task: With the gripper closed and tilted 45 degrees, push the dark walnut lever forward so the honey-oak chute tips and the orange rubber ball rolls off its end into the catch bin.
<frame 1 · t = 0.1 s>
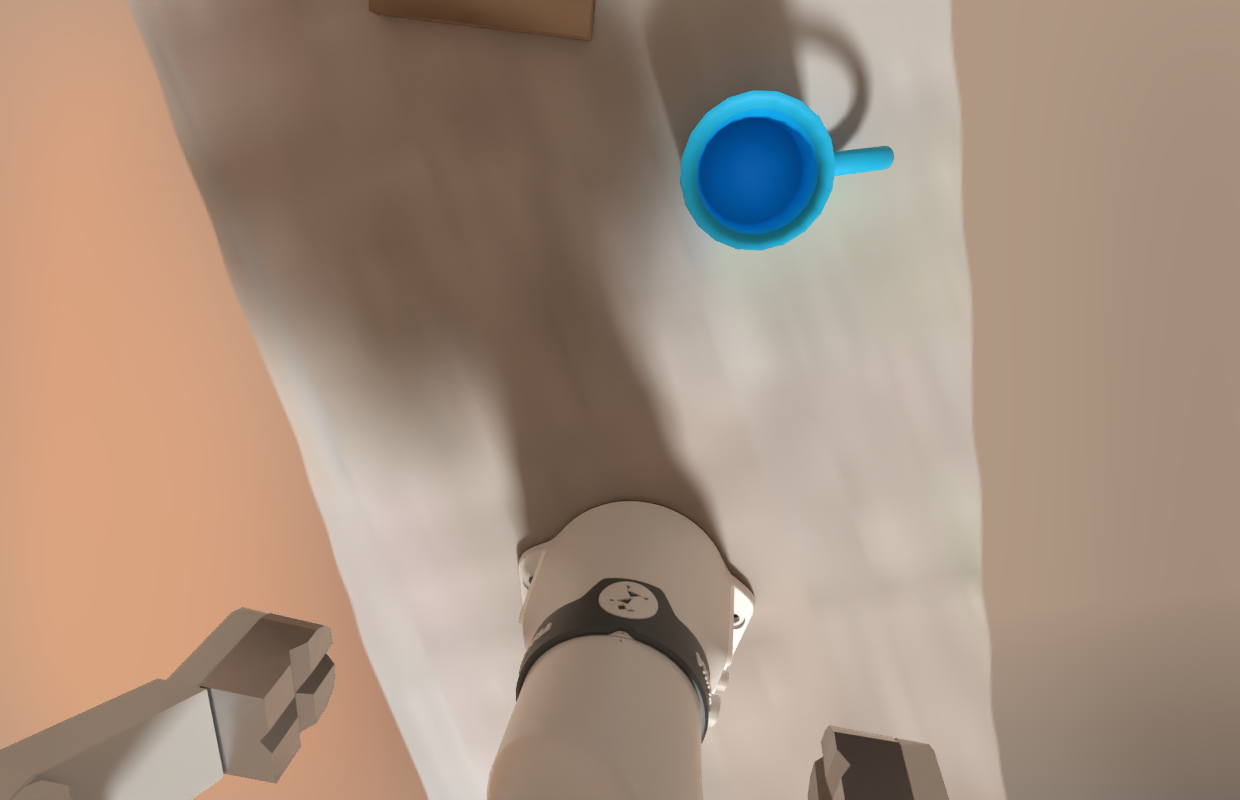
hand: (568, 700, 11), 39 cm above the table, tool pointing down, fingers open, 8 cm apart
mug: (779, 168, 45), on the table
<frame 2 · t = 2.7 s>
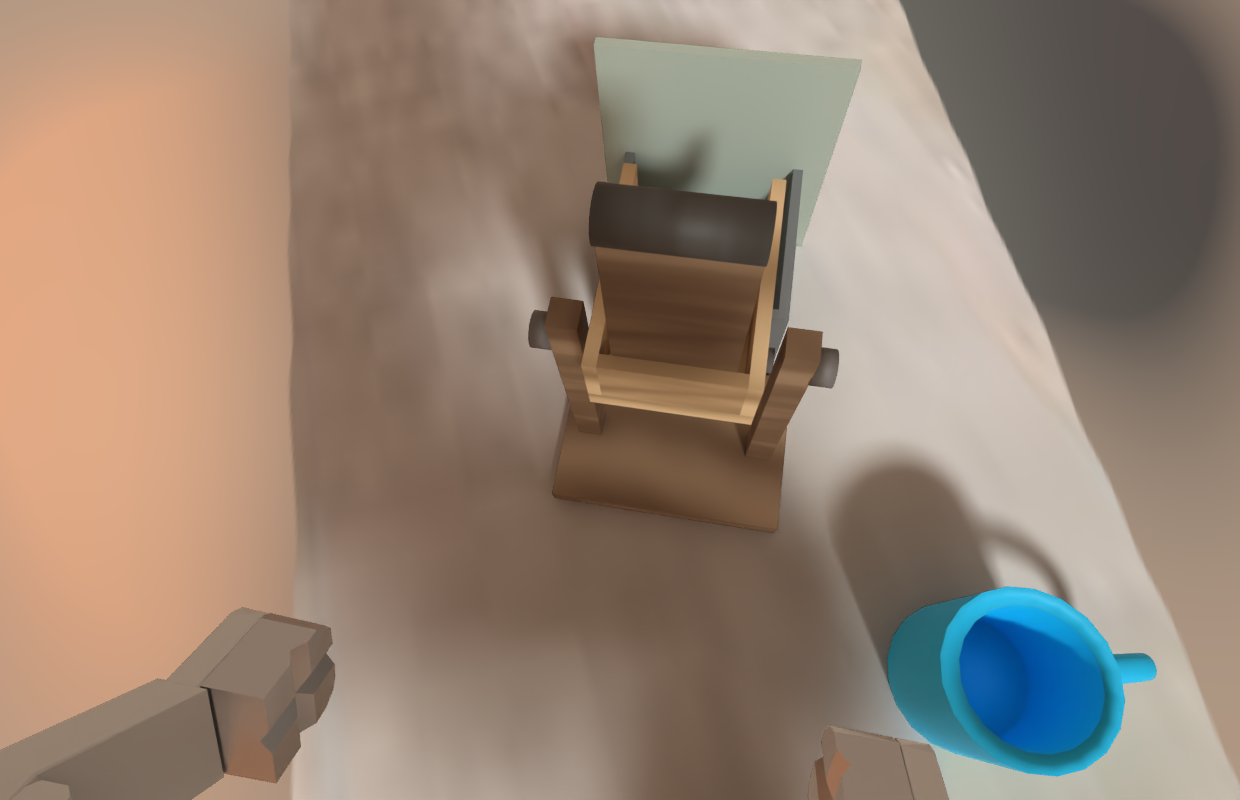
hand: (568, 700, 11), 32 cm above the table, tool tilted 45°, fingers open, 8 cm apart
stand: (673, 440, 46), on the table
mug: (992, 673, 40), on the table
chute: (690, 239, 27), point 21 cm above the table, hinge at 0.0°, touching ball
catch bin: (696, 293, 50), on the table
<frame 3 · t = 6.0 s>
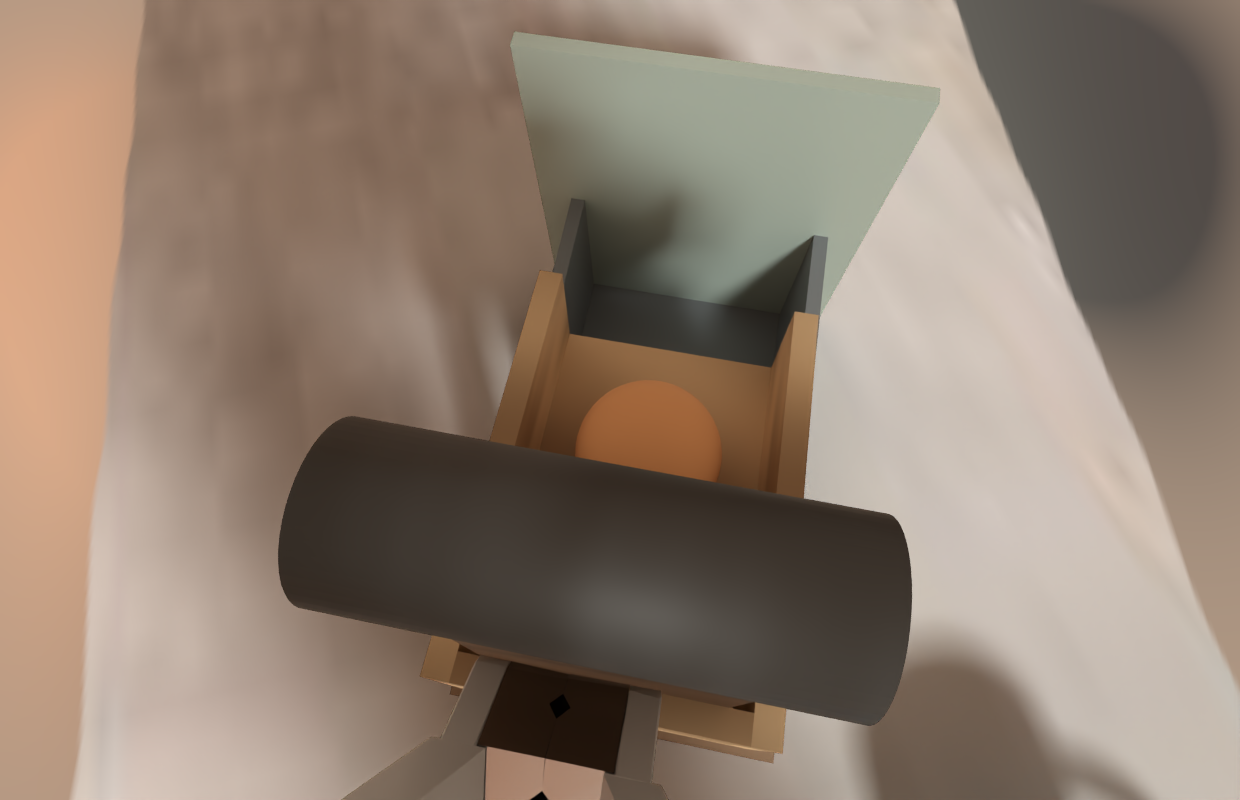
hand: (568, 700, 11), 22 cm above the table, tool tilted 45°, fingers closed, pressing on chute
ball: (648, 453, 17), point 17 cm above the table, tilted 15°, touching chute
stand: (630, 609, 32), on the table
chute: (645, 439, 14), point 21 cm above the table, hinge at 6.0°, touching ball, gripper
catch bin: (669, 389, 36), on the table
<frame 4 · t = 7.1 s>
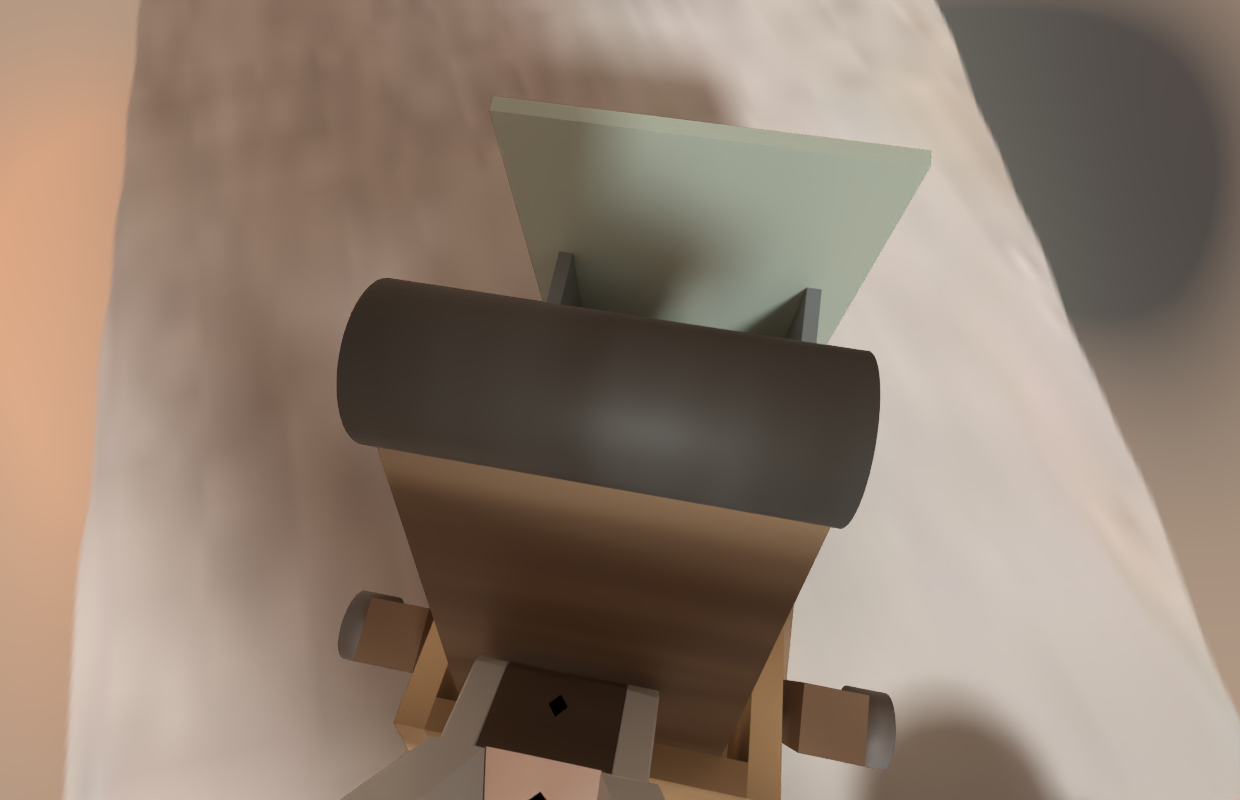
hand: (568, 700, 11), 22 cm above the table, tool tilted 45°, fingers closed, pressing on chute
stand: (623, 668, 32), on the table
chute: (634, 477, 15), point 20 cm above the table, hinge at 23.4°, touching gripper
catch bin: (663, 437, 35), on the table
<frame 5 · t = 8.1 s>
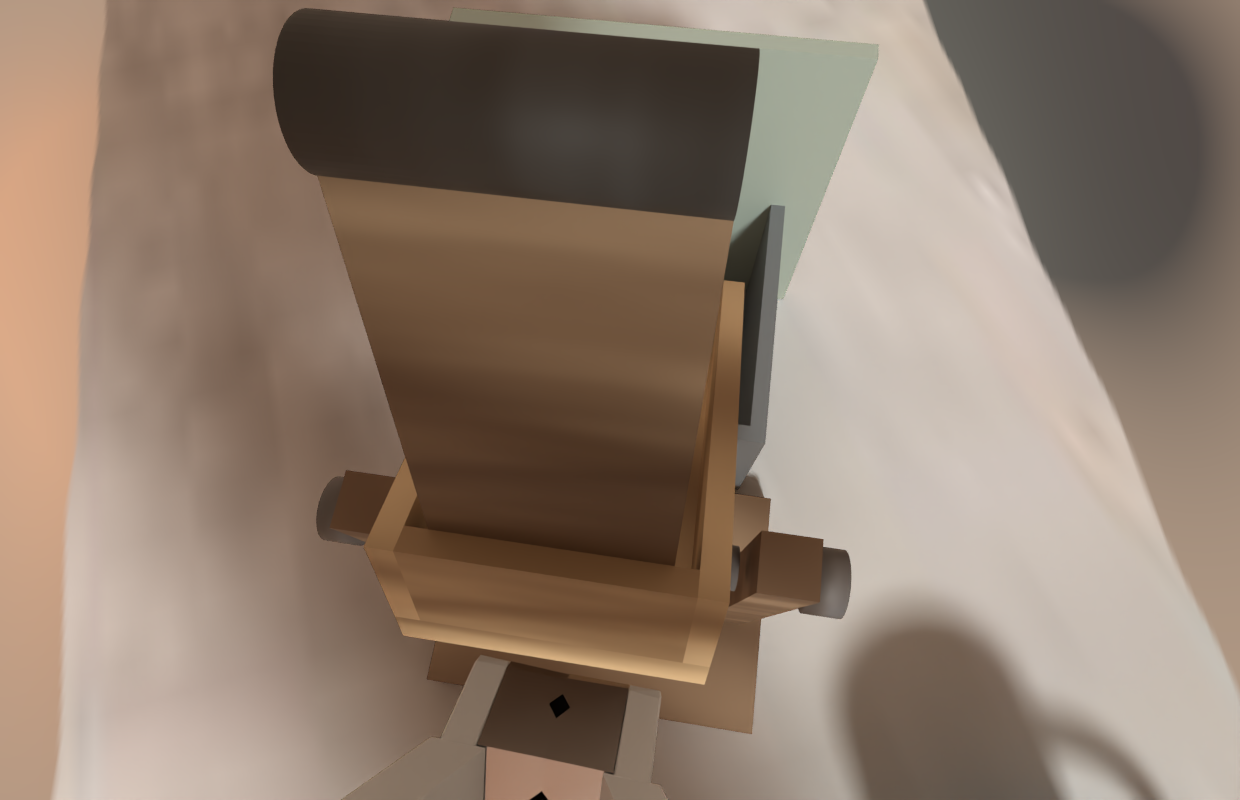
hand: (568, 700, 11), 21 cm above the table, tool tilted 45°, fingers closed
stand: (606, 588, 32), on the table
chute: (589, 323, 15), point 20 cm above the table, hinge at 23.6°
catch bin: (639, 368, 36), on the table
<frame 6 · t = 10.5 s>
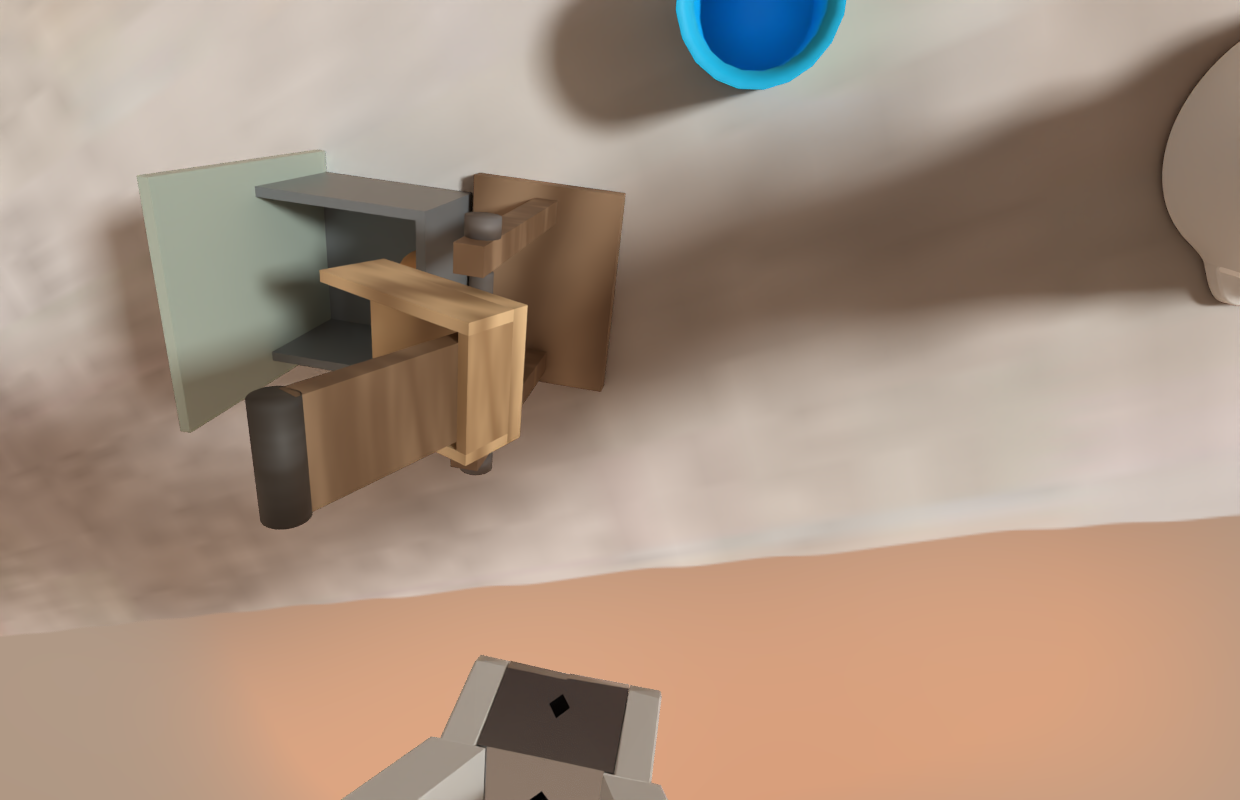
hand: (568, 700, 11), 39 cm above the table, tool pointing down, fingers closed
ball: (424, 276, 48), point 2 cm above the table, tilted 145°, touching catch bin
stand: (545, 284, 50), on the table
chute: (355, 377, 32), point 20 cm above the table, hinge at 23.6°
catch bin: (396, 261, 51), on the table
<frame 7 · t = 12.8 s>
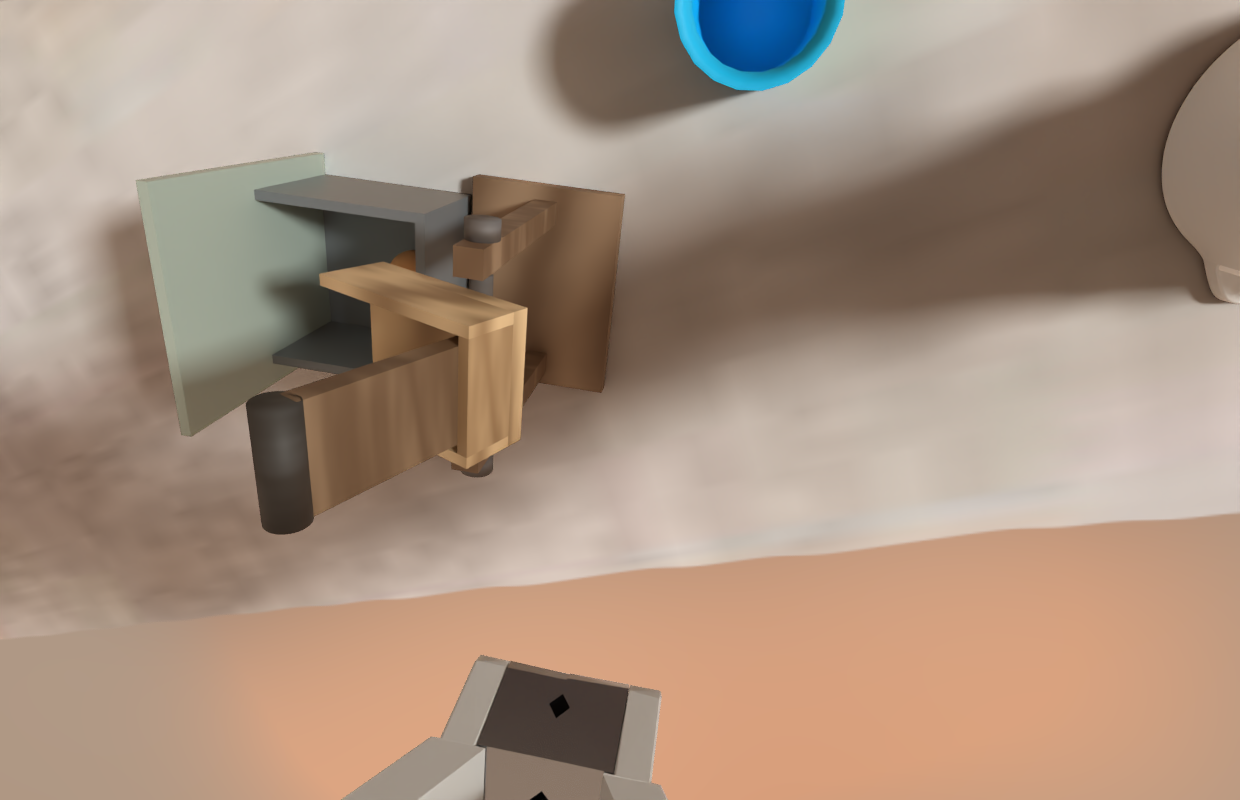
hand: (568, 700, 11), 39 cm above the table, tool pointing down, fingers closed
ball: (414, 276, 48), point 2 cm above the table, tilted 123°, touching catch bin
stand: (544, 285, 50), on the table
chute: (355, 381, 32), point 20 cm above the table, hinge at 23.6°
catch bin: (395, 263, 51), on the table
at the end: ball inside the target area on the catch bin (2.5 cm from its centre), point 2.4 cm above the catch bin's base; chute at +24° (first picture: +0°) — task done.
